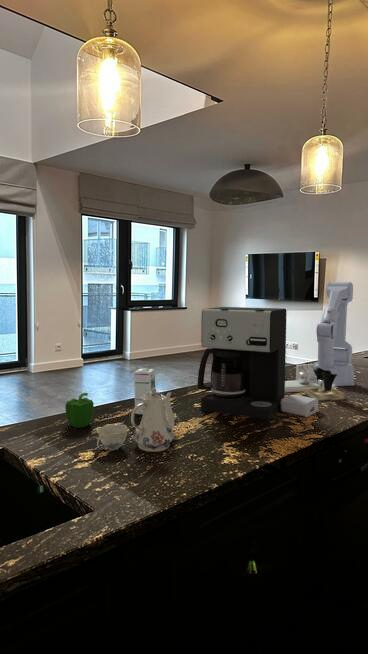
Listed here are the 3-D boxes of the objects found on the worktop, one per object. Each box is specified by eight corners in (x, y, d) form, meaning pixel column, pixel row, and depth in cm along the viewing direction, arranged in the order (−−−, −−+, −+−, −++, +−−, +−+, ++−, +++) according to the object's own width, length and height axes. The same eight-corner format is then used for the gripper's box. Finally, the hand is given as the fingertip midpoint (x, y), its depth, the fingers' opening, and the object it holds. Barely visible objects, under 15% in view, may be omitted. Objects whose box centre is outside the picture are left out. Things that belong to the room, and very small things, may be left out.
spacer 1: (306, 382, 189) (306, 371, 189) (311, 384, 185) (311, 373, 184) (296, 382, 188) (296, 371, 188) (301, 384, 184) (301, 374, 184)
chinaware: (160, 430, 139) (155, 376, 138) (203, 436, 128) (198, 378, 128) (87, 457, 117) (82, 394, 117) (132, 467, 107) (126, 397, 106)
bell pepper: (66, 431, 133) (65, 398, 132) (65, 422, 141) (64, 391, 140) (95, 428, 135) (94, 396, 134) (93, 420, 143) (92, 389, 142)
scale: (319, 383, 196) (320, 363, 196) (334, 390, 184) (335, 369, 183) (271, 385, 192) (272, 365, 192) (283, 392, 180) (284, 371, 179)
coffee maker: (189, 409, 156) (189, 308, 153) (212, 396, 173) (213, 305, 170) (268, 420, 143) (270, 310, 140) (284, 405, 160) (286, 307, 157)
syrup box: (151, 415, 149) (151, 371, 148) (134, 414, 150) (133, 371, 149) (155, 410, 155) (155, 368, 153) (139, 409, 156) (139, 367, 154)
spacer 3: (326, 389, 176) (327, 378, 175) (331, 392, 172) (331, 381, 171) (316, 390, 176) (316, 378, 175) (320, 392, 171) (320, 381, 171)
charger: (278, 403, 163) (317, 411, 153) (265, 409, 156) (305, 417, 146) (278, 390, 162) (318, 398, 153) (265, 395, 155) (306, 403, 146)
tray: (330, 392, 180) (330, 387, 180) (345, 399, 169) (345, 393, 169) (304, 393, 178) (304, 388, 178) (317, 400, 167) (317, 395, 167)
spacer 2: (322, 381, 190) (322, 371, 190) (327, 383, 186) (327, 373, 186) (312, 381, 190) (312, 371, 189) (317, 384, 185) (317, 373, 185)
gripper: (307, 351, 179) (306, 385, 180) (325, 357, 164) (324, 394, 166) (323, 351, 180) (322, 384, 181) (342, 356, 166) (341, 393, 167)
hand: (324, 389), depth 174 cm, fingers closed on spacer 3, 4 cm apart
